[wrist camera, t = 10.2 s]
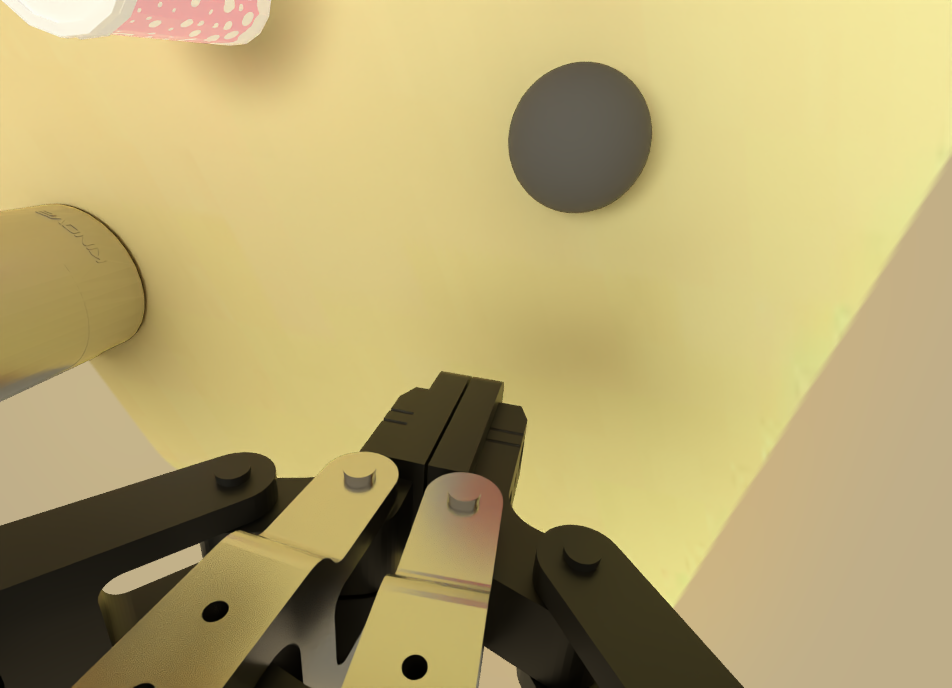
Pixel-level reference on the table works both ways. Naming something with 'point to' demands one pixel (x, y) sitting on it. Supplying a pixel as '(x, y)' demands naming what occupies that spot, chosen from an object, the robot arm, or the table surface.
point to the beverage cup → (148, 18)
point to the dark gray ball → (580, 137)
